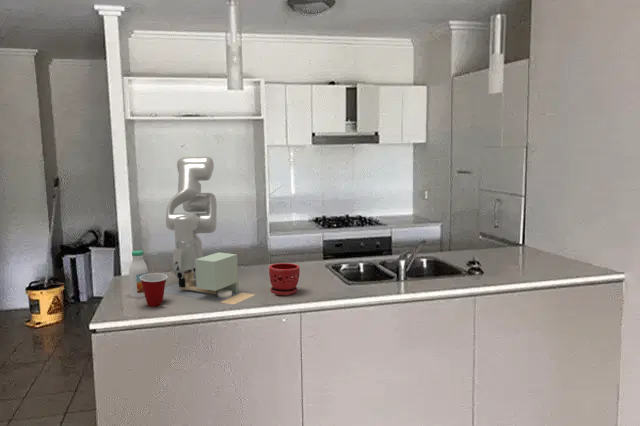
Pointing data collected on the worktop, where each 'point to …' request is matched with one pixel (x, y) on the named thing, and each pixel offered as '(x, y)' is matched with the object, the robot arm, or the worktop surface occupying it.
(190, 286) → the block
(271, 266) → the plant pot
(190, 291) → the board
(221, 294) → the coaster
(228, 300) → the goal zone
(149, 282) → the plastic cup
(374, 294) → the worktop surface
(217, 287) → the shelf block
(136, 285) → the milk bottle
